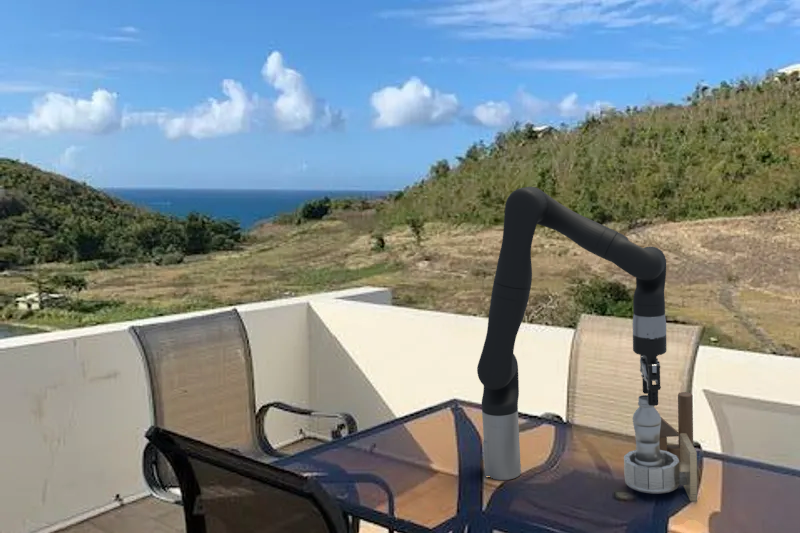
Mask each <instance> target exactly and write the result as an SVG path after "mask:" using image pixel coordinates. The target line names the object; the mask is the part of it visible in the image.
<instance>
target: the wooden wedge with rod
mask: <svg viewBox="0 0 800 533" xmlns="http://www.w3.org/2000/svg"><path fill="white" fill-rule="evenodd" d="M693 399H694V398H693V393H691V392H687V391H681V392H678V394H677V422H678V426H677V428H678V430H677V429H676V428H674V427H673V426H672V425H671V424H670V423H669V422H668V421H667V420H665V419H664V418H663V417H661V416H660V417H661V427H660V440H659V446H660V450H663V451H667V452H670V453H672V454H674V455H676V456H677V457H678V459H679V463H680V433H686V434H687V436H688V437H689V439H690V441H691V443H692V445H693V446H694V407H693V406H694V405H693V402H694V401H693ZM669 437H670V438H671V437H678V444H668V438H669Z"/></svg>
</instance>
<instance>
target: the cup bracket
mask: <svg viewBox="0 0 800 533" xmlns="http://www.w3.org/2000/svg"><path fill="white" fill-rule="evenodd" d="M660 454H661V459H662V463H663V467H645V466H640V465H637V464H635V463H634V462H635V457H636V449H634V450H630V451H628V452H627V453H626V454H625V455H624V456H623V471H624V472H623V473H624V474H623V475H624V482H625V485H626V486H628V488H630V489H632V490H634V491H637V492H640V493H644V494H645V493H646V494H652V495H653V494H654V495H657V494H666V493H671V492H674V491H675V490H677V489H678V488H679V486H683V488H684V490H685V493H686V494H687V496H688V499H689V501H690V502H693V503H694V502H695V503H696V502H698V457H697V456H698V452H697V450H696V448H695V447H694V444H693V445H692V443H691V441H690V439H689V437H688V436H687V434H686V433H680V462H679V459H678V457H677V456H676V455H674V454H672V453H670V452H667V451H663V450H660Z"/></svg>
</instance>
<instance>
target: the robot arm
mask: <svg viewBox="0 0 800 533" xmlns="http://www.w3.org/2000/svg"><path fill="white" fill-rule="evenodd" d="M537 225H539V226H542V227H546V228H549V229H551V230H554V231H556V232H558V233H560V234H562V235H564V236H565V237H567V238H568V239H570V240H571V241H572V242H574V243H575V244H576V245H578V246H579V247H581V248H582V249H584V250H585V251H587V252H589V253H592V255H596V256H597V257H599V258H602V259H603V260H605V261H608V262H611V263H612V264H614V265H616V266H617V267H618V268H620V270H623V271H624V272H625V273H627V274H629V275H630V276H632V277H634V278H635V285H636V286H635V290H634V293H633V301H632V302H633V303H632V306H633V307H632V308H633V318H632V350H633V353H634V354H636V355H639V356H640V358H639V364H640V365H639V367H640V368H639V372H640V374H641V375H640V376H641V378H642V379H641V380H642V393H643V395H648V404H649V405H650V406H654V407H655V406H658V405H659V391H661V388H662V387H661V363H660V361H659V358H657V357H658V356H660V355H664V354H665V353H667V320H666V301H665V300H666V298H665V288H666V287H665V285H666V276H667V259H666V256H665V254H664V252H663V251H662V250H661V249H660V248H658V247H656V246H646V247H642V246H640V245H638V244H635V243H634V242H632V241H630V240H629V238H628V237H627V236H626V235H625V234H622V233H621V232H618V231H617V230H615V229H612V228H610V227H608V226H606V225H603V224H602V223H599V222H597V221H594V220H593V219H590V218H588V217H586V216H583V215H581V214H579V213H578V212H575V211H573V210H572V209H570V208H568V207H566V206H565V205H563V204H562V203H560V202H558V201H557V200H555V199H554V198H553V197H551V196H550V195H549V194H547V193H546V192H544V191H543V190H542V189H540V188H538V187H535V186H526V187H519V188H517V189H514V190H513V191H511V193H510V194H509V196H508V197H507V200H506V202H505V206H504V216H503V230H502V231H503V232H502V241H501V246H500V250H499V255H498V258H497V264H496V269H495V274H494V279H493V285H492V290H491V297H490V302H489V312H488V320H487V331H486V336H485V340H484V344H483V346H482V351H481V353H480V357H479V360H478V363H477V370H476V371H477V372H476V373H477V376H478V380H479V382H480V383H481V384H482V385H483V392H482V398H481V414H482V416H481V417H482V433H483V437H482V438H483V441H482V447H483V448H482V449H483V467H484V468H483V469H484V477H485V476H490V477H491V478H490V479H492V478H493V480H499V481H508V480H512V479H515V478H518V477H519V476H520V475H521V474H522V469H521V468H522V467H521V466H522V464H521V449H520V448H521V447H520V424H519V395H520V394H519V392H520V389H519V388H520V387H519V382H520V381H519V364H518V360H517V357H516V355H515V354H514V350H515V344H516V343H515V342H516V339H517V336H518V332H519V331H520V328H521V324H522V322H523V319H524V317H525V314H526V310H527V308H528V307H527V306H528V303H529V299H530V294H531V287H532V281H533V269H532V268H533V267H532V253H531V251H532V245H533V240H534V236H535V232H536V227H537ZM653 382H655V384H653Z"/></svg>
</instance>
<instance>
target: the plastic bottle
mask: <svg viewBox="0 0 800 533" xmlns="http://www.w3.org/2000/svg"><path fill="white" fill-rule="evenodd" d="M637 399H638V402H637V405H638V407H637V409H636V410H635V412H634V413H633V415H632V424H633V425H632V426H633V429H634V435H635V436H634V438H635V450H636V457H635V462H634V463H635V464H637V465H640V466H645V467H663V463H662V459H661V454H660V446H659V440H660V427H661V414H660V413H659V412H658V410H657V408H655V406H650V405H649V404H648V394H642V395H639V396H638V398H637Z"/></svg>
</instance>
